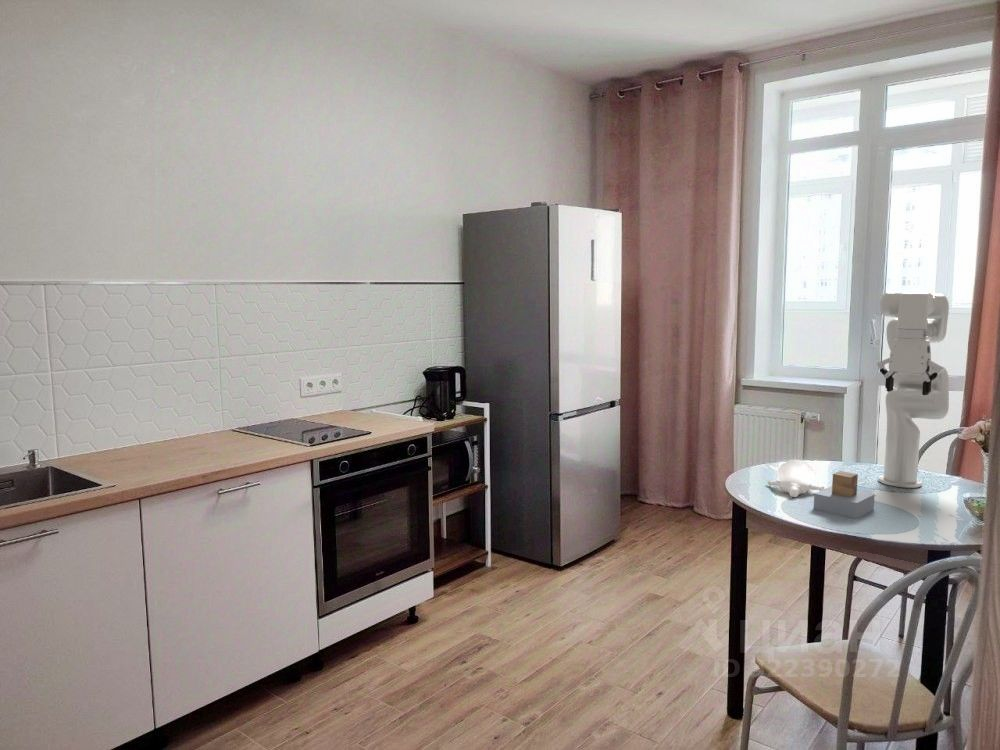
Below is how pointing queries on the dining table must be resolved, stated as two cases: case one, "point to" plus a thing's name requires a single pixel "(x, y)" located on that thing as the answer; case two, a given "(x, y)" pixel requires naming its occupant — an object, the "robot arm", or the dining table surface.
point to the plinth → (844, 503)
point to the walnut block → (844, 484)
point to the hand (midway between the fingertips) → (907, 392)
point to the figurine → (796, 478)
